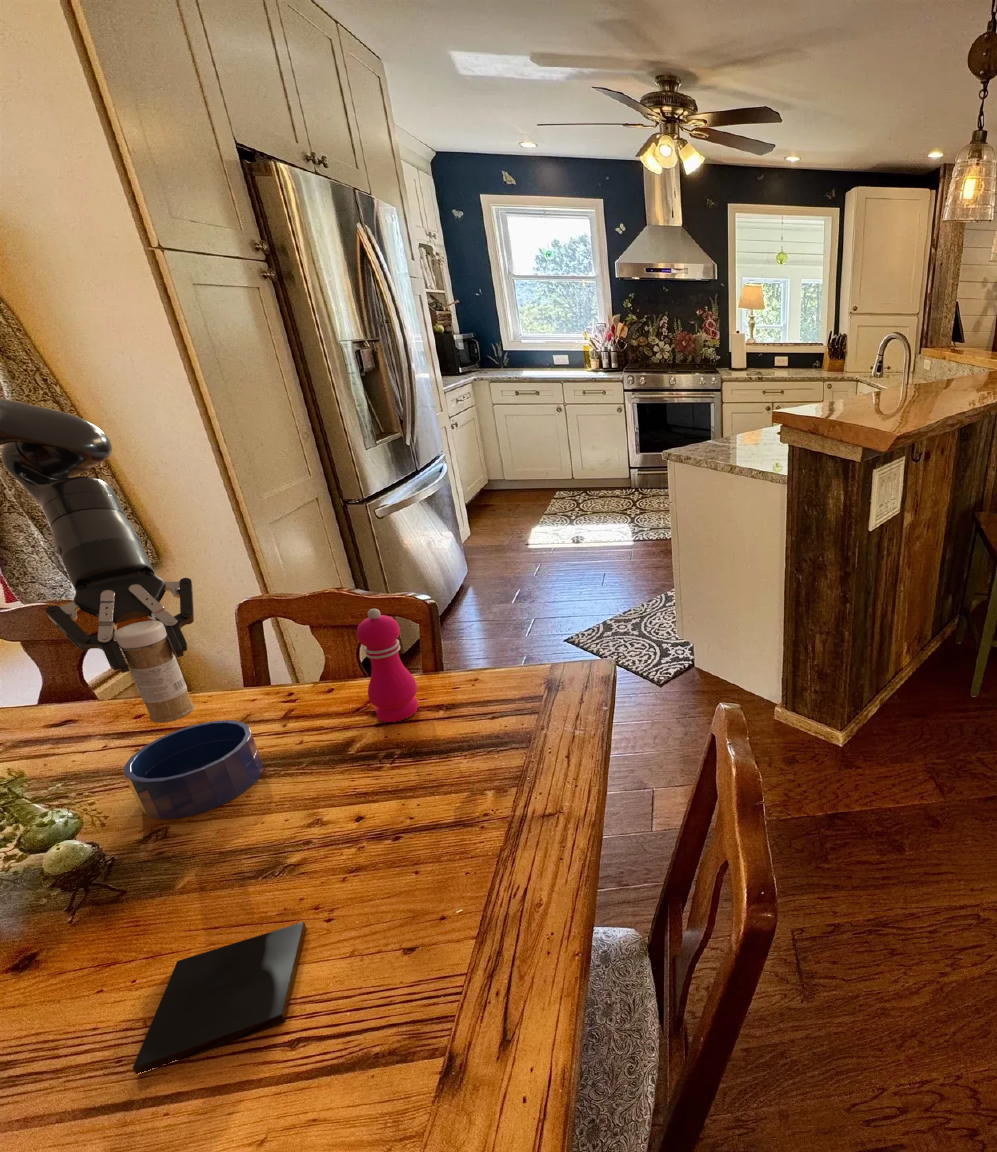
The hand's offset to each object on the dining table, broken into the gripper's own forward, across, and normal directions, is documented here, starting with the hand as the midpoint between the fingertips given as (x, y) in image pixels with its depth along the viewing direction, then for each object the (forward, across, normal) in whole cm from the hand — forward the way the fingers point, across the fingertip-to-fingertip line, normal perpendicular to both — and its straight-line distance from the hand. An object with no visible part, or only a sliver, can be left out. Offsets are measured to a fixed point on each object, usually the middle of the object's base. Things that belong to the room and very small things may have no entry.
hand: (152, 661), depth 78 cm
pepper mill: (+15, -26, -16) cm, 34 cm away
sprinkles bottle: (+5, 0, -8) cm, 9 cm away
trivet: (+42, +5, +11) cm, 43 cm away
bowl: (+13, 0, -18) cm, 22 cm away
